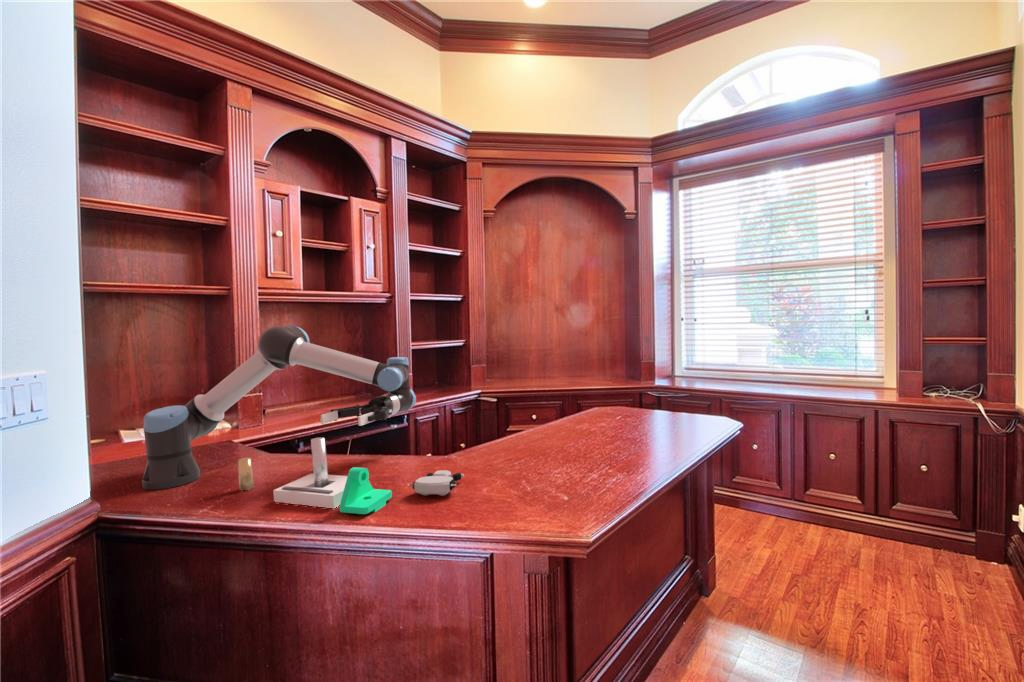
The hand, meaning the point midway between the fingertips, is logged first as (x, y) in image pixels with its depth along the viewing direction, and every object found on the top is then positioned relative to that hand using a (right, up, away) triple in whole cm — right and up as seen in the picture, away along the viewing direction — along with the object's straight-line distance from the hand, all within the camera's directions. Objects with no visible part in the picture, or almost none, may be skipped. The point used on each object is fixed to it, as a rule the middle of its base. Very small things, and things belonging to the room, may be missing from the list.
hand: (340, 420), depth 143 cm
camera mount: (+14, -20, -19) cm, 30 cm away
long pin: (-2, -19, -9) cm, 22 cm away
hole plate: (-2, -19, -9) cm, 22 cm away
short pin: (-28, -20, +1) cm, 35 cm away
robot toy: (+30, -18, -9) cm, 37 cm away
